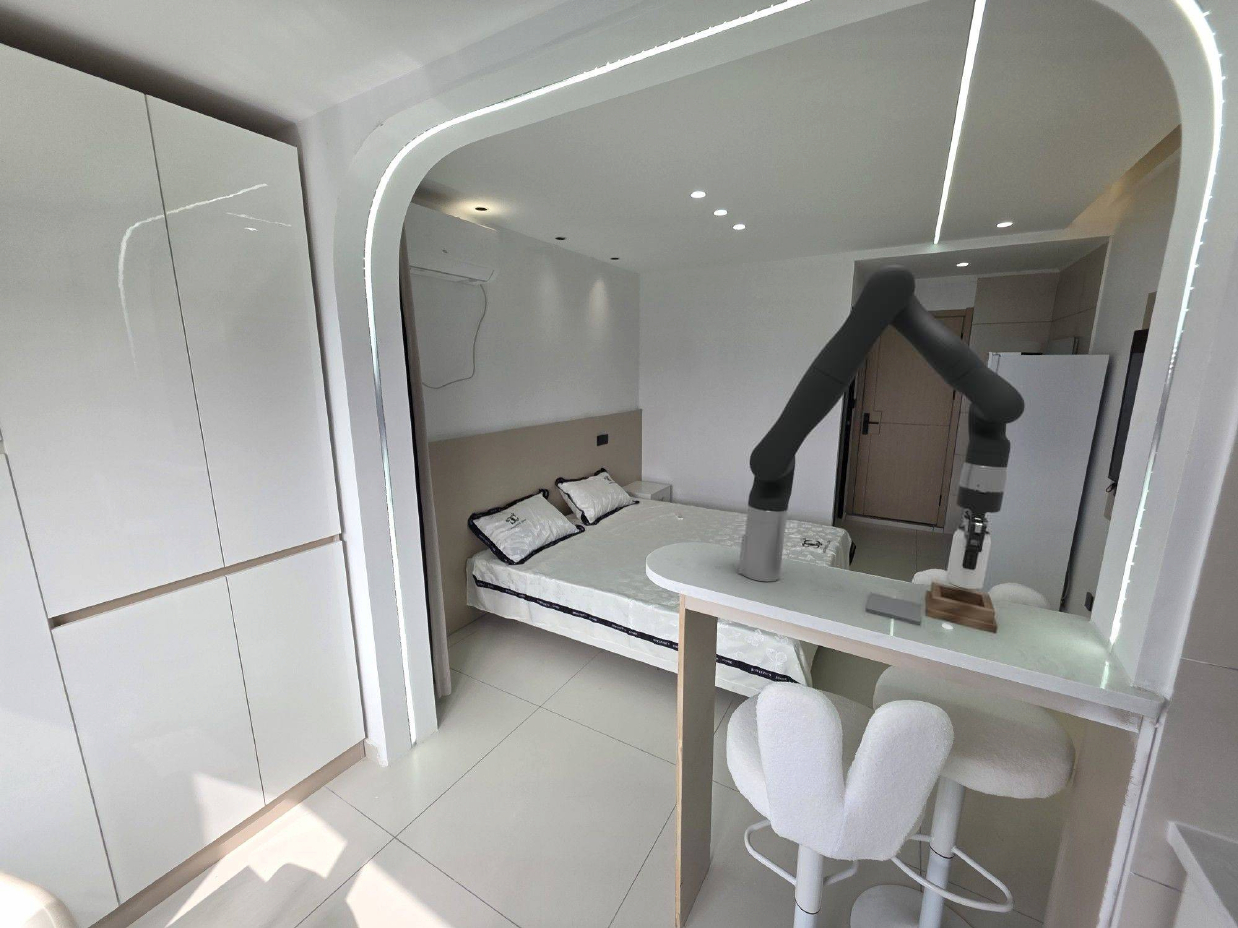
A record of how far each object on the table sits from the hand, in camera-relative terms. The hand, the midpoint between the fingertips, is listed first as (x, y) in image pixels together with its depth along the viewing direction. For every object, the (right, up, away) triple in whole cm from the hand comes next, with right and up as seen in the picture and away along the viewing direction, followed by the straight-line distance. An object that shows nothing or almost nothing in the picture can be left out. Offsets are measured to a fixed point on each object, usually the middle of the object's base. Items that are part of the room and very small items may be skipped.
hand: (967, 563), depth 104 cm
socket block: (-1, -11, +2) cm, 11 cm away
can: (0, -5, +1) cm, 5 cm away
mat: (-14, -10, +2) cm, 18 cm away
